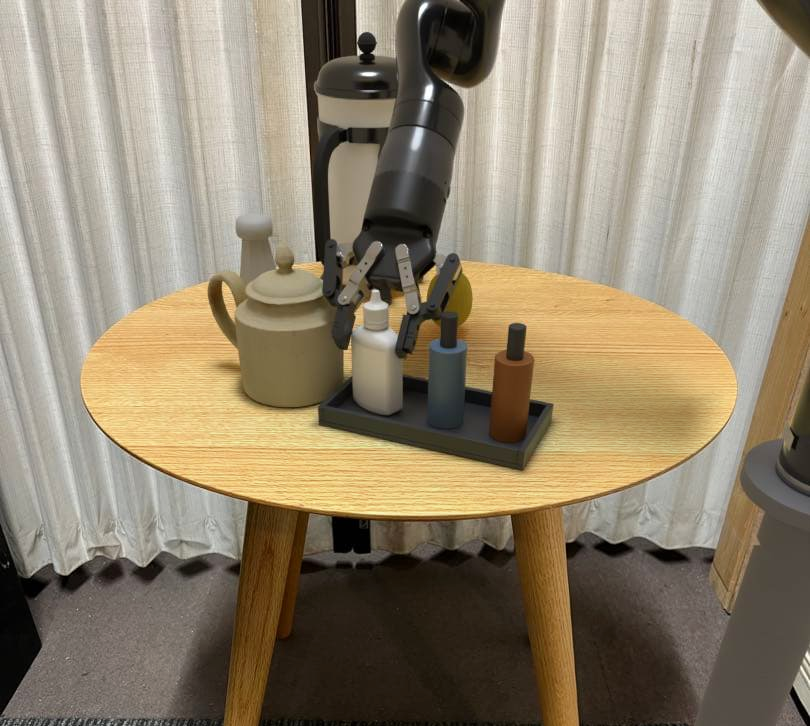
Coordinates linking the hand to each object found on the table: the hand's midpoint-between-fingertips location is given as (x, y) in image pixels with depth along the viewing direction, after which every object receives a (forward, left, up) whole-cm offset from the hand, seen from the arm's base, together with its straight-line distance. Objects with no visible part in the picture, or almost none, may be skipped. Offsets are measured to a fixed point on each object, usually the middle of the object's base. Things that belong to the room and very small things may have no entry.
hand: (370, 350), depth 79 cm
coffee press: (+16, -33, -7) cm, 37 cm away
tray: (-6, -2, -7) cm, 10 cm away
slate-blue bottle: (-7, -2, -7) cm, 10 cm away
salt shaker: (+23, -17, -7) cm, 29 cm away
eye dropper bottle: (0, -2, -7) cm, 7 cm away
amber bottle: (-14, -2, -7) cm, 15 cm away
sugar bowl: (+13, -3, -7) cm, 15 cm away
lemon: (+1, -24, -7) cm, 25 cm away
